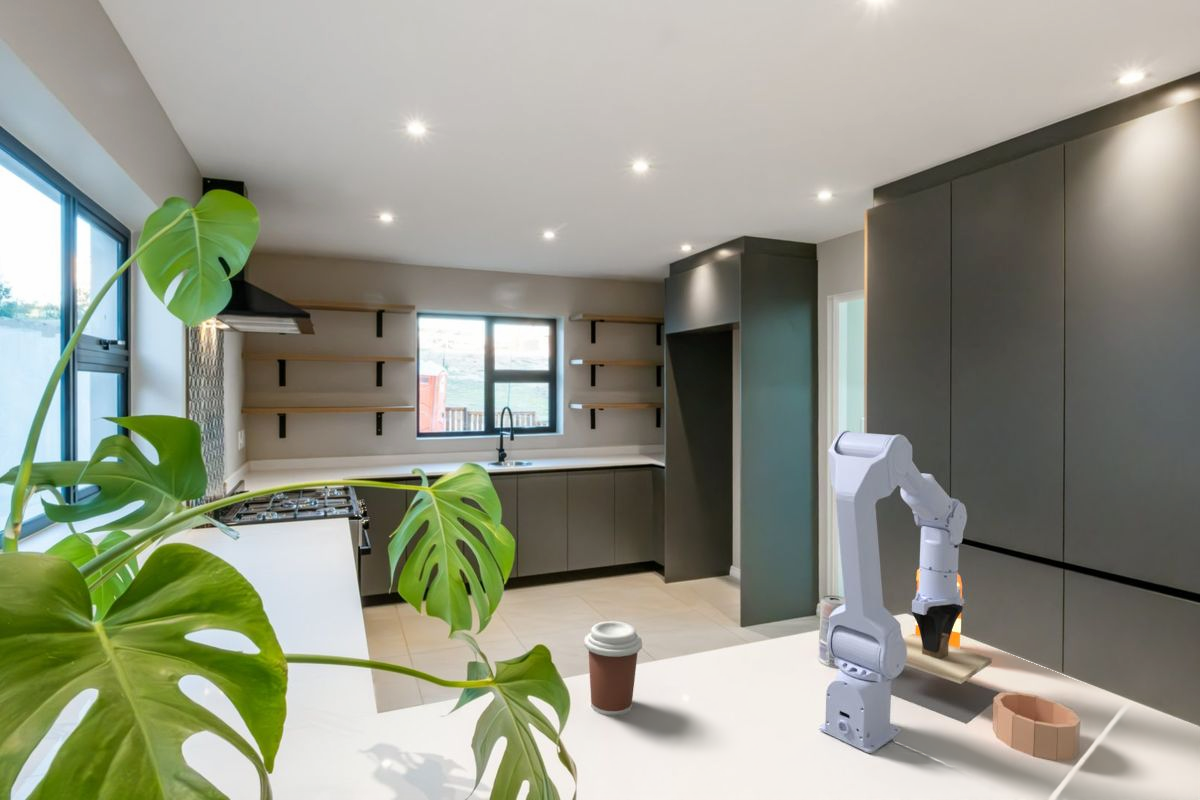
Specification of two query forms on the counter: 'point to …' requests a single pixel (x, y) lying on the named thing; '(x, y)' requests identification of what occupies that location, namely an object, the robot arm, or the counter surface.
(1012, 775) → the counter surface
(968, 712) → the mat
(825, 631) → the energy drink
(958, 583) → the orange juice
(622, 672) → the coffee cup
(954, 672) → the lid
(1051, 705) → the bowl
